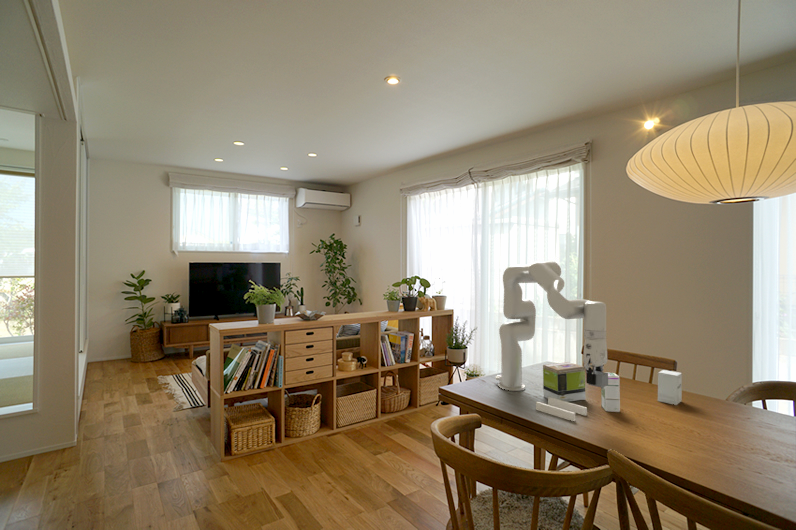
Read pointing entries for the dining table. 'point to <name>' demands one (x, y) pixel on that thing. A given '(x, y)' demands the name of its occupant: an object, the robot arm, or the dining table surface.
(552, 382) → the tea box
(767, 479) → the dining table surface
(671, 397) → the supplement box
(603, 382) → the block
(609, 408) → the syrup box
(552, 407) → the channel
